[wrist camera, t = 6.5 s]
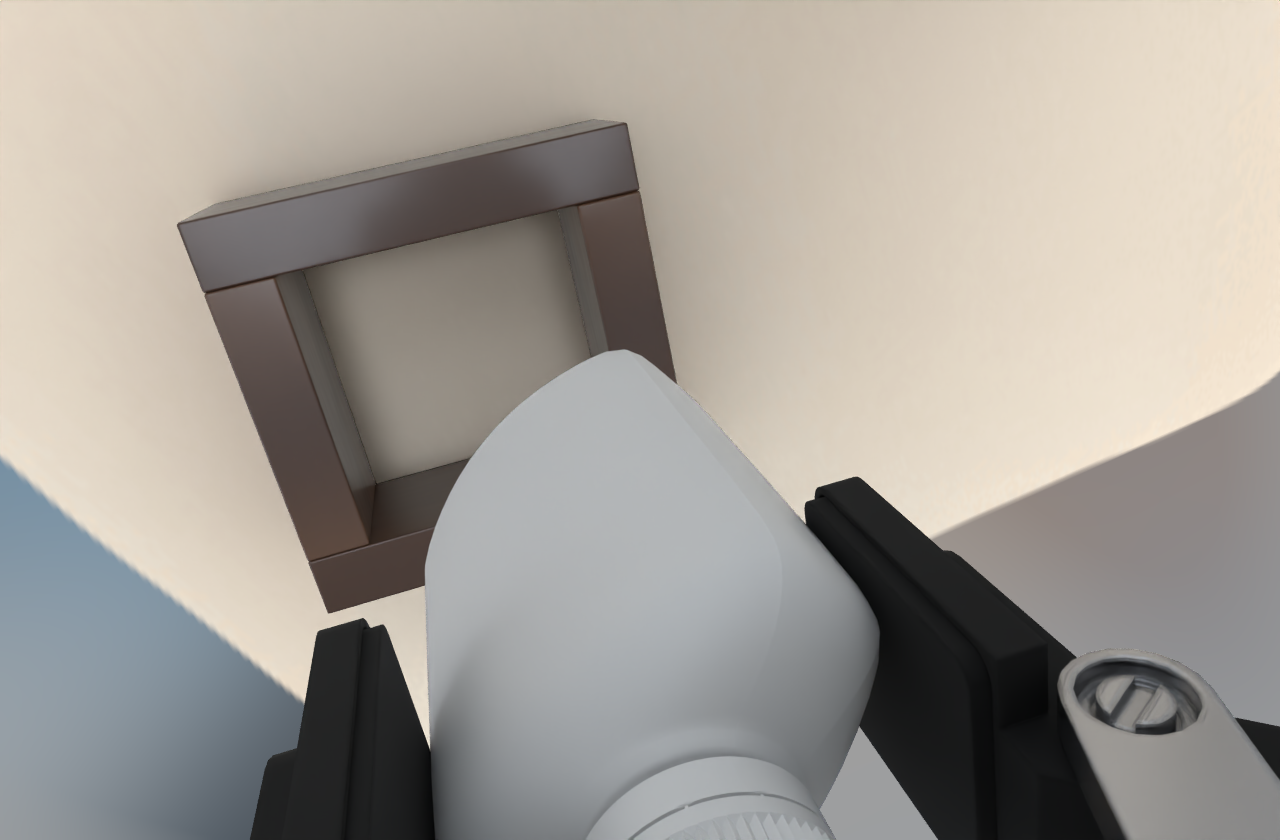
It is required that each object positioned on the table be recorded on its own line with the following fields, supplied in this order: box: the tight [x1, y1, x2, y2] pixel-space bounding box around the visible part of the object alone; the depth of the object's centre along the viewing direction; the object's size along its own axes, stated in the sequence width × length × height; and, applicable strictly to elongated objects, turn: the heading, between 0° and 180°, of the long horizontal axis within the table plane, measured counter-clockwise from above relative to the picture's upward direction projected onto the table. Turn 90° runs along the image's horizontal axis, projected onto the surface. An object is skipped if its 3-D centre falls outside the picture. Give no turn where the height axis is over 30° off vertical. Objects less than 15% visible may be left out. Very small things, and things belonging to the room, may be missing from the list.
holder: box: [177, 119, 677, 613], centre depth 27 cm, size 12×12×4 cm
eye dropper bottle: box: [425, 349, 880, 840], centre depth 11 cm, size 4×6×12 cm
